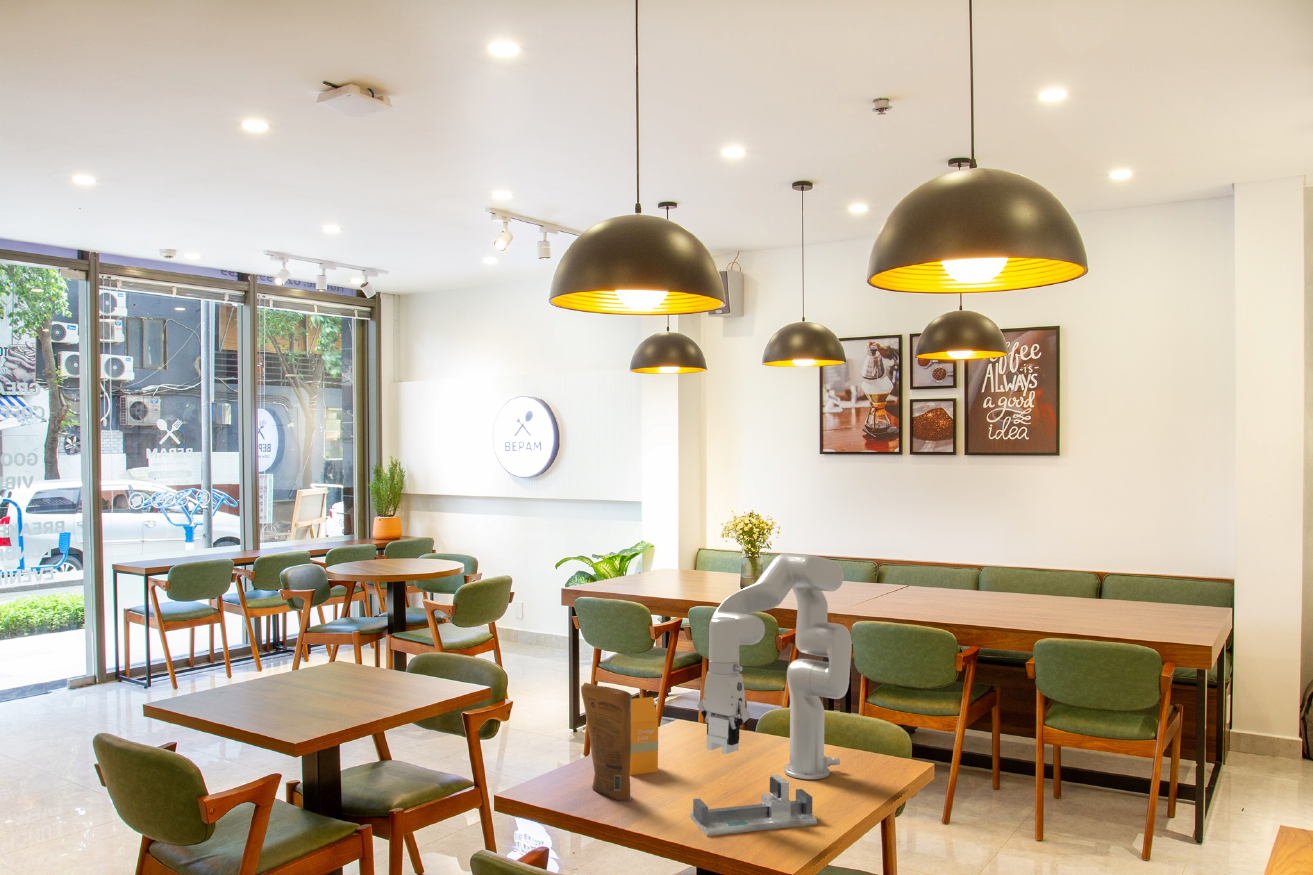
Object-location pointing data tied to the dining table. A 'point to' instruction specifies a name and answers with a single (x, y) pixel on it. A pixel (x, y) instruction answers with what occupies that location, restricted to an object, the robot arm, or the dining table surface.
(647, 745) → the orange juice
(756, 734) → the dining table surface
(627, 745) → the pancake mix bag
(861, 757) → the dining table surface
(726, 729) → the notched grey block
